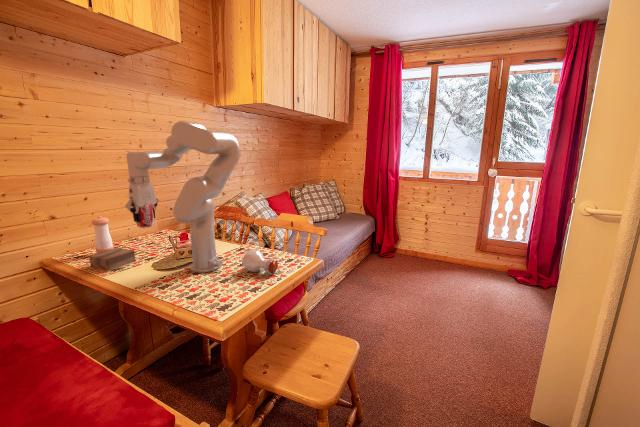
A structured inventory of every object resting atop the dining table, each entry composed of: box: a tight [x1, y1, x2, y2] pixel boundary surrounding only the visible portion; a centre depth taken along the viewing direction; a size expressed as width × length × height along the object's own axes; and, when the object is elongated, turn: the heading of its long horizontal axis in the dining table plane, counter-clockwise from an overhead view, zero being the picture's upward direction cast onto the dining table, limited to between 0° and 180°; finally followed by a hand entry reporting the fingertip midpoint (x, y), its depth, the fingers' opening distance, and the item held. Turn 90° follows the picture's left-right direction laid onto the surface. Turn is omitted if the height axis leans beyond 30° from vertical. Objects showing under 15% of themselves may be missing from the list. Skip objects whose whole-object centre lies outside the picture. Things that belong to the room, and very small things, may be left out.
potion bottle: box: [241, 249, 279, 275], centre depth 125 cm, size 9×10×15 cm
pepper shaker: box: [90, 215, 115, 254], centre depth 146 cm, size 7×7×19 cm
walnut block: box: [88, 247, 136, 272], centre depth 134 cm, size 12×12×5 cm
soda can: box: [135, 202, 155, 229], centre depth 134 cm, size 7×7×12 cm
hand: (145, 219), depth 134 cm, fingers closed on soda can, 6 cm apart
